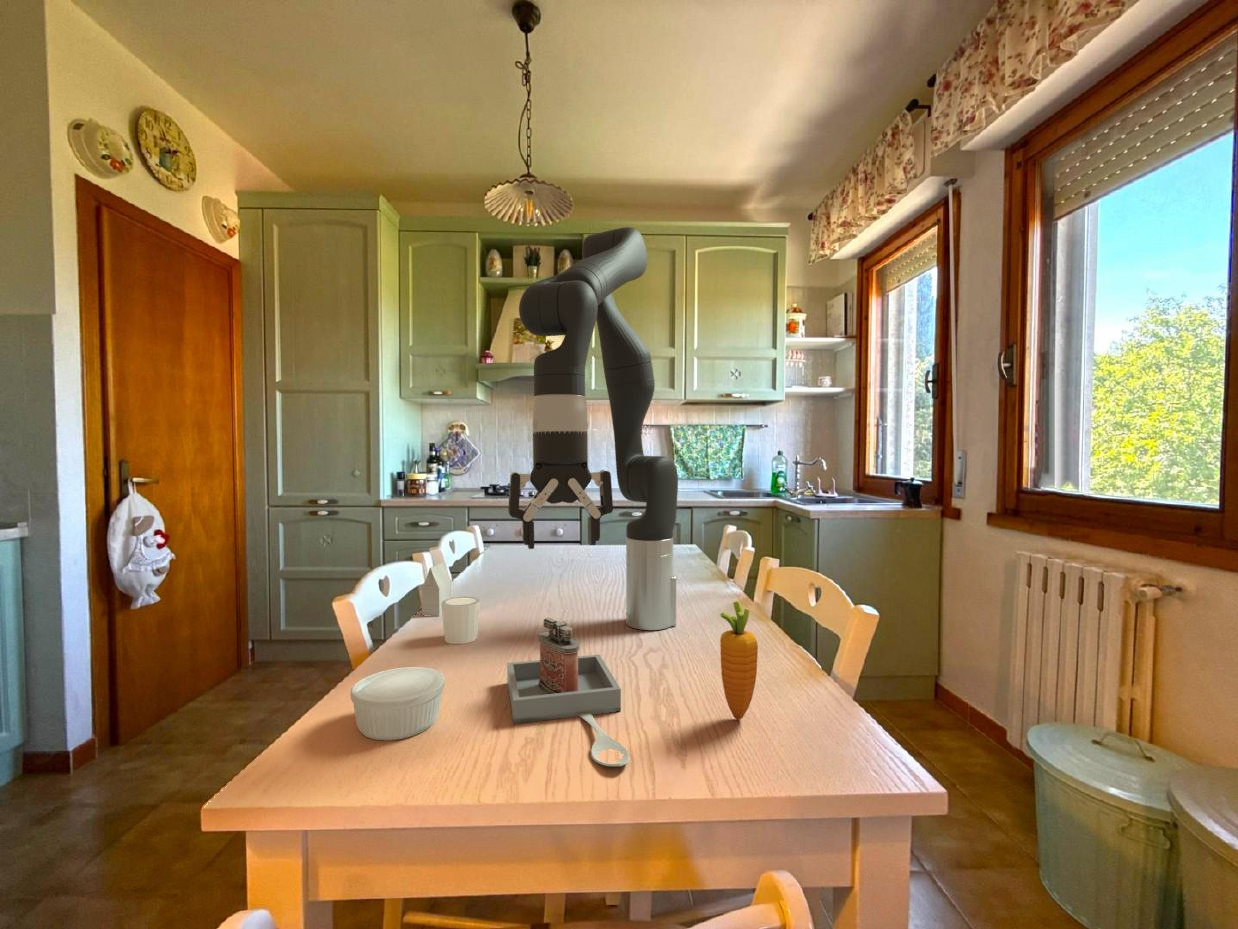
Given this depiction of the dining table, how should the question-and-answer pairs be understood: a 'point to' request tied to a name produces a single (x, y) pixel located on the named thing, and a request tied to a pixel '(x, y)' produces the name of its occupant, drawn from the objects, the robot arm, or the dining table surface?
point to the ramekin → (397, 702)
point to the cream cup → (460, 619)
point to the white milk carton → (436, 590)
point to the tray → (535, 705)
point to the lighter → (558, 658)
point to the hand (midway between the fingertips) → (561, 546)
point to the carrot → (738, 662)
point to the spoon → (604, 743)
